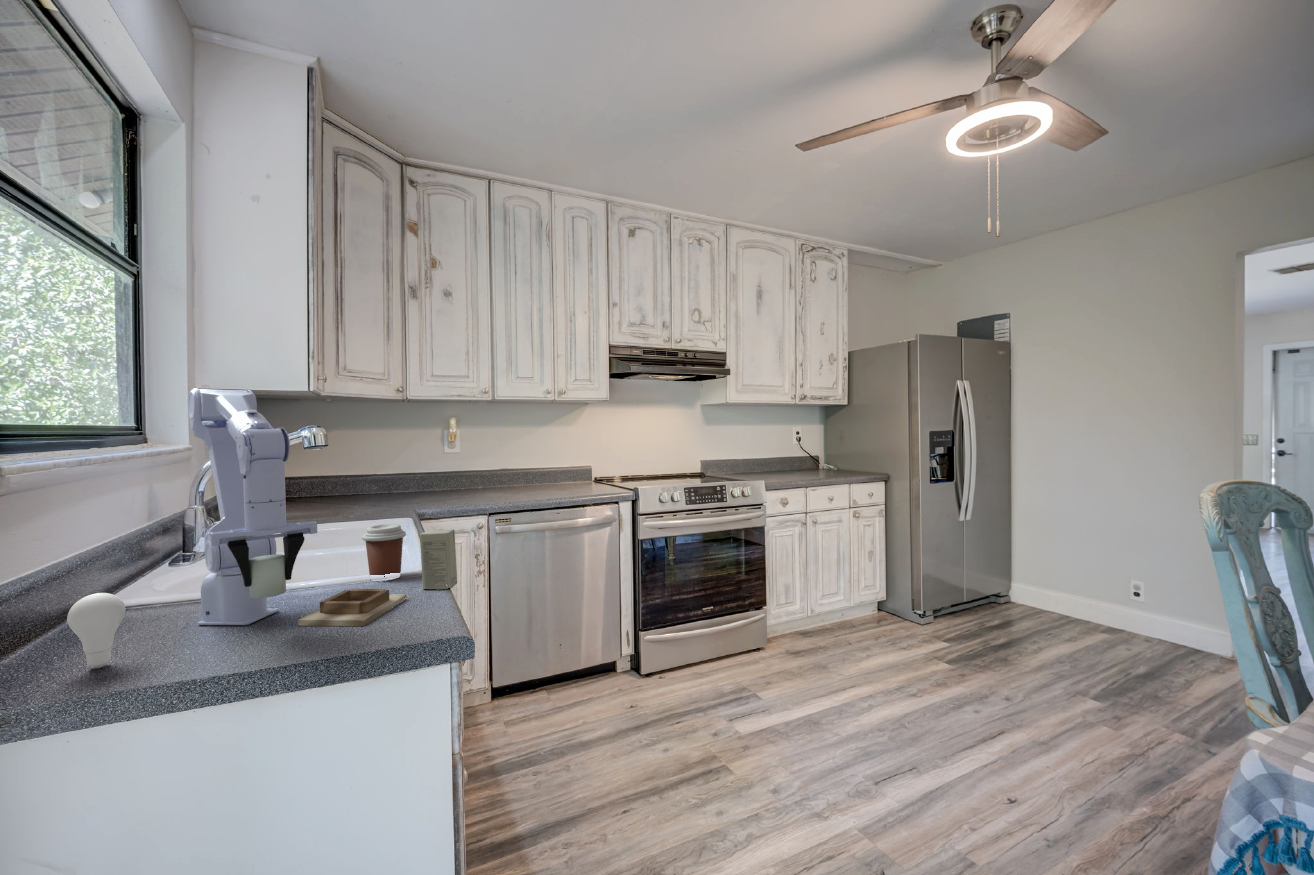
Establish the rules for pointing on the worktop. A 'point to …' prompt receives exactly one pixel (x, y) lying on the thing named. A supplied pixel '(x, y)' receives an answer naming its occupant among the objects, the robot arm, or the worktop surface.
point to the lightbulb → (96, 625)
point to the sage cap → (267, 576)
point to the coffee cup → (384, 548)
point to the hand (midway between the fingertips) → (267, 582)
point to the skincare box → (438, 559)
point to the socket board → (352, 608)
